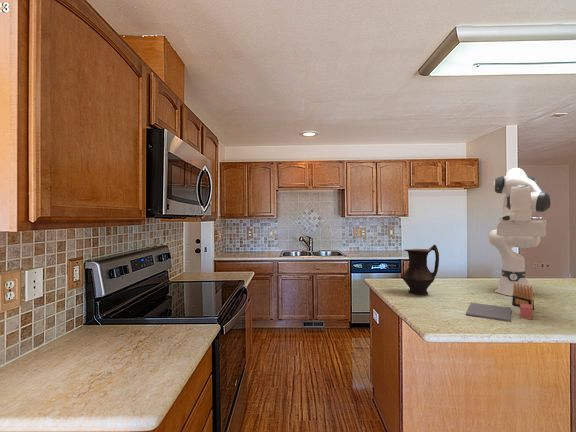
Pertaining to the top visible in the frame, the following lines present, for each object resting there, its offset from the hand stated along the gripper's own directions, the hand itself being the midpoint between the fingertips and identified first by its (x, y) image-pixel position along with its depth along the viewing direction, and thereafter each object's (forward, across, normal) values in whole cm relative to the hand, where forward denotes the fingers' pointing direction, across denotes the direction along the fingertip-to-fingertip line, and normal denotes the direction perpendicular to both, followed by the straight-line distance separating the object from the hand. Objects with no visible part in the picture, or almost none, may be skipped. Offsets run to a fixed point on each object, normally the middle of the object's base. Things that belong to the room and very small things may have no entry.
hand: (520, 245), depth 168 cm
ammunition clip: (+32, -1, -11) cm, 34 cm away
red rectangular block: (+33, -2, +6) cm, 34 cm away
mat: (+33, +13, +8) cm, 36 cm away
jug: (+32, +50, -13) cm, 61 cm away
